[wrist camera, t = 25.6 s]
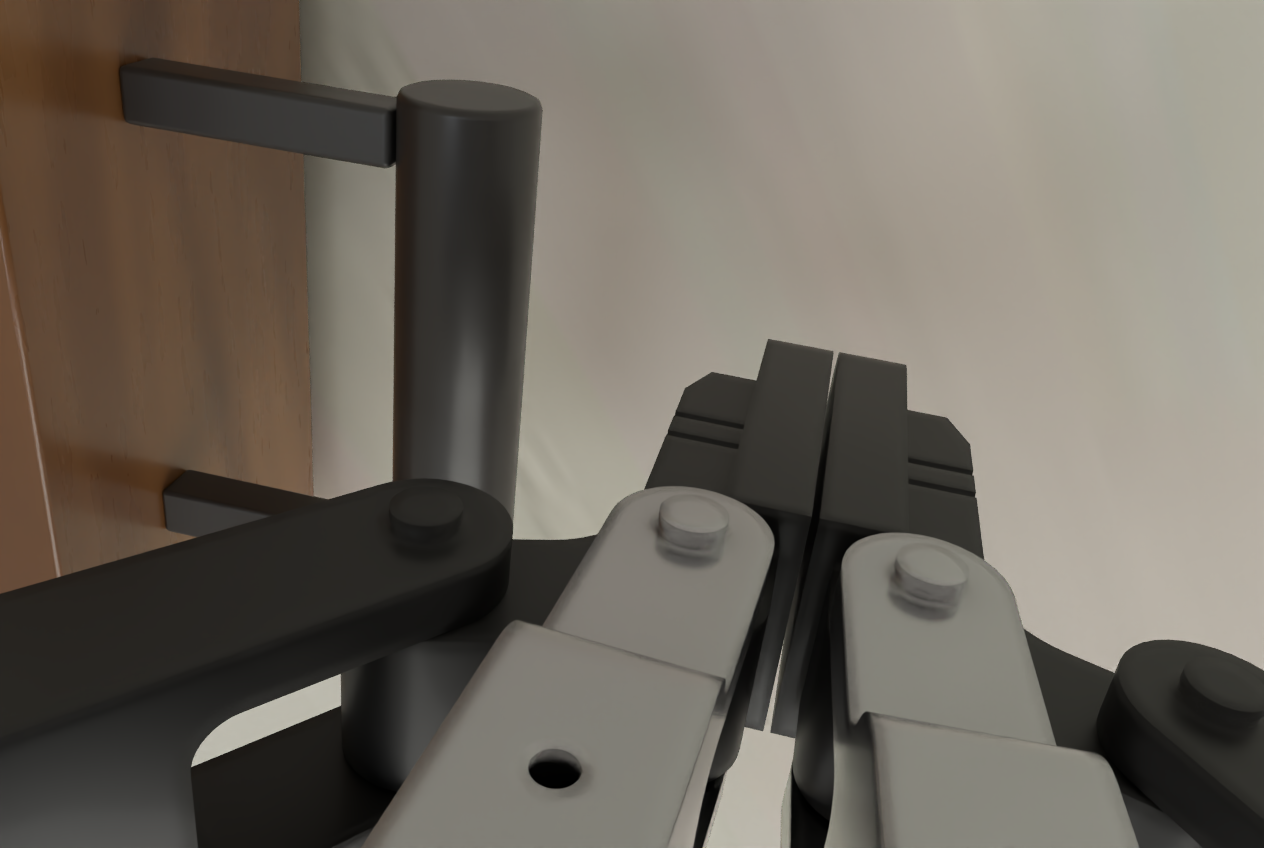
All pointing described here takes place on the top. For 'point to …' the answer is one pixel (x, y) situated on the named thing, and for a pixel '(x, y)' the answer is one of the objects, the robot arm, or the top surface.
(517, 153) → the drawer
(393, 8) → the top surface
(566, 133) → the top surface
